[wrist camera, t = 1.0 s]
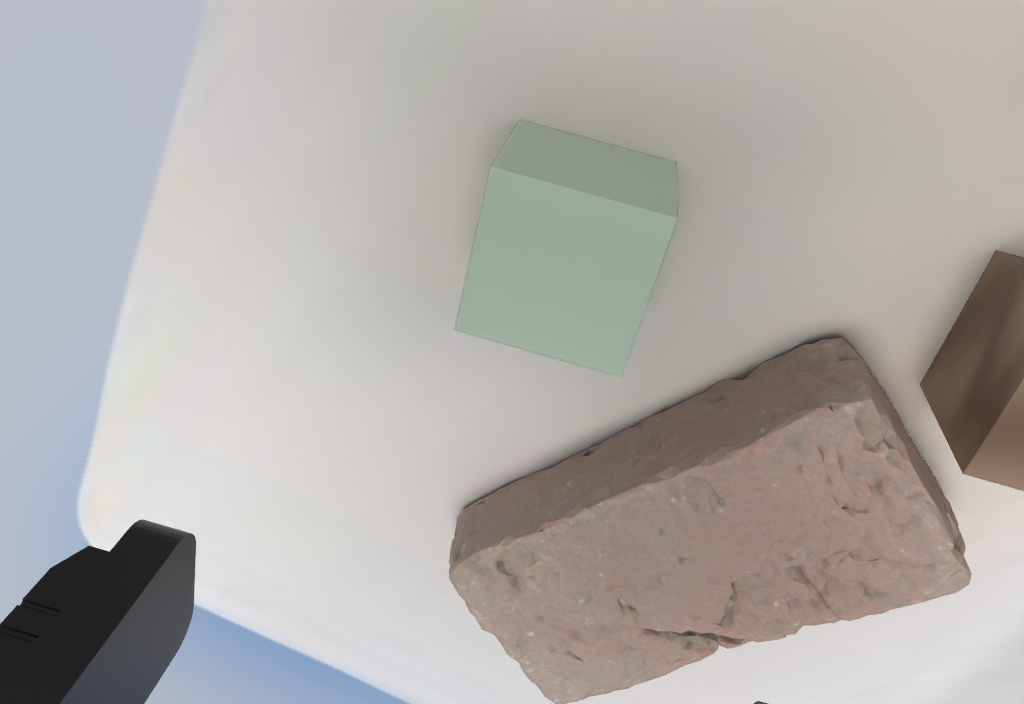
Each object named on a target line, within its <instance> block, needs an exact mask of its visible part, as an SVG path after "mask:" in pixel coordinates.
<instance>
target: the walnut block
mask: <svg viewBox="0 0 1024 704" xmlns="http://www.w3.org/2000/svg"><path fill="white" fill-rule="evenodd" d="M920 386H921V388H922V390H923V392H924V394H925V396H926V398H927V401H928V403H929V405H930V407H931V409H932V411H933V413H934V415H935V417H936V419H937V421H938V423H939V425H940V427H941V429H942V432H943V434H944V436H945V438H946V440H947V442H948V444H949V446H950V448H951V450H952V452H953V454H954V456H955V458H956V460H957V462H958V465H959V467H960V469H961V471H962V473H963V474H966V475H969V476H973V477H976V478H980V479H983V480H987V481H990V482H994V483H997V484H1001V485H1004V486H1008V487H1011V488H1015V489H1018V490H1022V491H1024V258H1023V257H1019V256H1015V255H1012V254H1008V253H1004V252H1001V251H997V250H996V251H995V253H994V255H993V257H992V258H991V260H990V262H989V264H988V265H987V267H986V269H985V271H984V272H983V274H982V276H981V278H980V280H979V281H978V283H977V285H976V287H975V288H974V290H973V292H972V294H971V295H970V297H969V299H968V301H967V302H966V304H965V306H964V308H963V310H962V311H961V313H960V315H959V317H958V318H957V320H956V322H955V324H954V325H953V327H952V329H951V331H950V332H949V334H948V336H947V338H946V340H945V341H944V343H943V345H942V347H941V348H940V350H939V352H938V354H937V355H936V357H935V359H934V361H933V362H932V364H931V366H930V368H929V370H928V371H927V373H926V375H925V377H924V378H923V380H922V382H921V384H920Z"/></svg>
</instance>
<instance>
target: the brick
mask: <svg viewBox="0 0 1024 704" xmlns="http://www.w3.org/2000/svg"><path fill="white" fill-rule="evenodd" d="M965 549H966V547H965V543H964V541H963V538H962V535H961V533H960V531H959V528H958V523H957V520H956V518H955V515H954V513H953V511H952V508H951V506H950V504H949V502H948V500H947V499H946V498H945V496H944V494H943V492H942V490H941V488H940V486H939V484H938V482H937V480H936V478H935V477H934V476H933V473H932V472H931V470H930V468H929V466H928V465H927V463H926V462H925V461H924V460H923V459H922V457H921V456H920V454H919V453H918V451H917V449H916V448H915V446H914V444H913V442H912V439H911V438H910V436H909V435H908V434H907V432H906V430H905V429H904V426H903V424H902V422H901V419H900V417H899V415H898V413H897V412H896V410H895V409H894V407H893V406H892V404H891V402H890V401H889V399H888V398H887V396H886V394H885V392H884V391H883V389H882V388H881V386H880V385H879V384H878V382H877V381H876V380H875V378H874V377H873V375H872V374H871V372H870V370H869V368H868V366H867V364H866V363H865V361H864V360H863V358H862V357H861V356H859V354H858V353H857V352H856V351H855V350H854V349H853V348H852V347H851V346H850V345H849V344H848V343H847V342H846V341H845V340H844V339H842V338H836V339H822V340H820V341H818V342H816V343H814V344H804V345H802V346H800V347H798V348H796V349H794V350H792V351H790V352H788V353H785V354H783V355H781V356H778V357H776V358H773V359H770V360H768V361H765V362H763V363H762V364H761V365H760V366H759V367H757V368H756V369H755V370H754V371H753V372H752V373H750V374H749V375H748V376H747V377H746V378H745V379H741V380H735V379H732V378H730V379H726V380H723V381H720V382H717V383H716V384H715V385H713V386H712V387H711V388H709V389H708V390H707V391H705V392H704V393H702V394H699V395H696V396H693V397H691V398H689V399H687V400H686V401H683V402H681V403H679V404H677V405H675V406H673V407H671V408H669V409H667V410H665V411H663V412H660V413H657V414H654V415H652V416H650V417H648V418H646V419H645V420H644V421H642V422H641V423H640V424H638V425H636V426H633V427H630V428H627V429H625V430H623V431H621V432H619V433H618V434H616V435H614V436H612V437H610V438H608V439H606V440H605V441H603V442H602V443H601V444H597V445H594V446H592V447H590V448H588V449H586V450H583V451H581V452H578V453H576V454H574V455H572V456H570V457H569V458H567V459H565V460H564V461H562V462H560V463H559V464H557V465H555V466H553V467H550V468H547V469H543V470H540V471H537V472H535V473H533V474H531V475H529V476H527V477H524V478H521V479H519V480H517V481H515V482H513V483H512V484H510V485H507V486H505V487H503V488H500V489H499V490H497V491H496V492H494V493H493V494H491V495H489V496H487V497H484V498H481V499H480V500H478V501H476V502H475V503H473V504H471V505H470V506H468V507H467V508H465V509H464V510H463V511H462V512H461V513H460V514H459V516H458V518H457V522H456V530H455V538H454V539H453V540H452V545H451V551H450V560H449V564H450V565H451V566H450V570H449V577H450V580H451V582H452V584H453V585H454V587H455V589H456V590H457V592H458V594H459V595H460V596H461V597H462V598H463V599H464V600H465V602H466V605H467V607H468V609H469V612H470V613H471V614H473V615H474V616H475V617H476V619H477V621H478V623H479V625H480V627H481V628H482V630H485V631H487V632H489V633H492V634H494V635H495V636H496V637H497V639H498V640H499V642H500V643H501V645H502V646H503V648H504V649H505V651H506V653H507V654H508V655H509V656H510V657H511V658H513V659H515V660H516V661H518V662H519V663H520V666H521V668H522V670H523V672H524V673H525V674H526V676H527V677H528V678H529V679H530V680H531V681H532V682H533V683H535V684H536V685H537V686H538V688H539V689H540V690H541V691H542V693H543V694H544V696H545V697H546V698H548V699H549V700H551V701H552V702H554V703H556V704H567V703H570V702H575V701H578V700H583V699H585V698H587V697H590V696H596V695H601V694H607V693H610V692H612V691H615V690H622V689H628V688H630V687H632V686H633V685H636V684H639V683H643V682H646V681H649V680H652V679H655V678H657V677H660V676H663V675H666V674H668V673H670V672H672V671H674V670H676V669H678V668H680V667H682V666H684V665H687V664H690V663H693V662H697V661H700V660H702V659H704V658H706V657H707V656H709V655H711V654H713V653H714V652H715V651H716V650H717V649H718V646H719V644H720V645H721V646H723V647H725V648H728V649H729V648H733V647H737V646H740V645H743V644H745V643H747V642H750V641H755V642H762V641H770V640H778V639H781V638H784V637H786V635H790V634H796V633H797V632H798V630H799V629H800V628H801V627H802V626H803V625H819V624H825V623H835V622H837V621H839V620H841V619H842V620H848V621H851V620H855V619H859V618H862V617H864V616H867V615H874V614H882V613H884V612H887V611H889V610H892V609H896V608H900V607H904V606H908V605H913V604H917V603H921V602H925V601H928V600H931V599H934V598H938V597H941V596H945V595H949V594H952V593H956V592H958V591H960V590H961V589H962V588H964V587H965V586H967V585H968V584H969V582H970V578H971V571H970V569H969V567H968V565H967V562H966V560H965V558H964V556H963V555H964V552H965Z"/></svg>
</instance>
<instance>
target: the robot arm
mask: <svg viewBox="0 0 1024 704" xmlns="http://www.w3.org/2000/svg"><path fill="white" fill-rule="evenodd" d="M195 555H196V540H195V536H194V535H193V534H191V533H187V532H184V531H181V530H177V529H174V528H170V527H167V526H163V525H160V524H157V523H153V522H150V521H146V520H139V521H137V522H135V523H134V524H133V525H132V526H131V527H130V528H129V529H128V530H127V532H126V533H125V534H124V535H123V536H122V538H121V539H120V540H119V541H118V542H117V544H116V545H115V546H114V547H113V548H112V550H111V551H110V552H108V551H105V550H101V549H98V548H95V547H91V546H88V547H86V548H84V549H82V550H81V551H79V552H77V553H76V554H74V555H72V556H70V557H69V558H67V559H66V560H64V561H62V562H60V563H59V564H57V565H55V566H53V567H52V568H50V569H49V571H48V572H47V573H46V574H45V575H44V576H43V577H42V578H41V579H40V580H39V582H38V583H37V584H36V585H35V586H34V587H33V588H32V589H31V590H30V592H29V593H28V594H27V595H26V596H25V597H24V598H23V601H22V603H21V605H20V606H18V605H17V606H16V607H15V608H14V610H13V611H12V612H11V613H10V614H9V615H8V616H7V617H6V618H5V619H4V621H3V622H2V623H1V624H0V704H144V703H145V702H146V700H147V698H148V697H149V695H150V694H151V692H152V691H153V689H154V687H155V686H156V684H157V683H158V681H159V680H160V678H161V677H162V675H163V673H164V672H165V670H166V669H167V667H168V666H169V664H170V662H171V661H172V659H173V658H174V656H175V655H176V653H177V651H178V649H179V648H180V646H181V644H182V642H183V640H184V638H185V635H186V633H187V630H188V627H189V624H190V621H191V618H192V613H193V606H194V582H195ZM754 704H767V703H764V702H760V701H757V702H755V703H754Z"/></svg>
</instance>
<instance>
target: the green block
mask: <svg viewBox="0 0 1024 704" xmlns="http://www.w3.org/2000/svg"><path fill="white" fill-rule="evenodd" d="M677 219H678V210H677V163H676V162H672V161H669V160H665V159H661V158H658V157H654V156H651V155H647V154H643V153H640V152H636V151H633V150H629V149H625V148H622V147H618V146H614V145H611V144H607V143H604V142H600V141H596V140H593V139H589V138H585V137H582V136H578V135H575V134H571V133H567V132H564V131H560V130H557V129H553V128H549V127H546V126H542V125H538V124H535V123H531V122H528V121H524V120H519V121H518V123H517V125H516V126H515V128H514V129H513V131H512V133H511V134H510V136H509V138H508V139H507V141H506V142H505V144H504V146H503V147H502V149H501V150H500V152H499V154H498V155H497V157H496V158H495V160H494V162H493V163H492V165H491V166H490V171H489V175H488V180H487V185H486V189H485V194H484V198H483V203H482V207H481V212H480V216H479V221H478V225H477V230H476V234H475V239H474V243H473V248H472V252H471V257H470V261H469V266H468V270H467V275H466V279H465V284H464V288H463V293H462V297H461V302H460V307H459V311H458V316H457V320H456V325H455V329H454V330H456V331H459V332H463V333H466V334H470V335H473V336H477V337H480V338H484V339H487V340H491V341H494V342H498V343H501V344H505V345H508V346H512V347H516V348H519V349H523V350H526V351H530V352H533V353H537V354H540V355H544V356H547V357H551V358H554V359H558V360H561V361H565V362H569V363H572V364H576V365H579V366H583V367H586V368H590V369H593V370H597V371H600V372H604V373H607V374H611V375H614V376H618V377H621V378H622V376H623V373H624V370H625V367H626V364H627V361H628V358H629V356H630V353H631V350H632V347H633V344H634V341H635V339H636V336H637V333H638V330H639V327H640V324H641V321H642V319H643V316H644V313H645V310H646V307H647V304H648V301H649V299H650V296H651V293H652V290H653V287H654V284H655V281H656V279H657V276H658V273H659V270H660V267H661V264H662V262H663V259H664V256H665V253H666V250H667V247H668V244H669V242H670V239H671V236H672V233H673V230H674V227H675V224H676V222H677Z"/></svg>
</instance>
